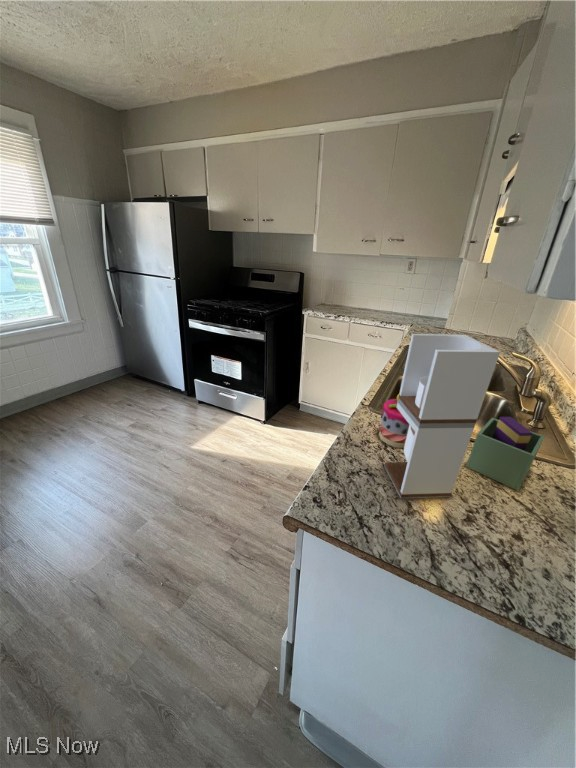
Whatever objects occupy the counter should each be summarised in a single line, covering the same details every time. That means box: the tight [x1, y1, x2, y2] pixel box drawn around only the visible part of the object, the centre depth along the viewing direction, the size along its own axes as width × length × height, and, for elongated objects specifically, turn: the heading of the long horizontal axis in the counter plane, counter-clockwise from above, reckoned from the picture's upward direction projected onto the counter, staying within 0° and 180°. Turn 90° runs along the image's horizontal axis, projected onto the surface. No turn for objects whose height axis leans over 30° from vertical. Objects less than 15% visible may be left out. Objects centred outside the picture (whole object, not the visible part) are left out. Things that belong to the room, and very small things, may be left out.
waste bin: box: [466, 417, 545, 492], centre depth 77 cm, size 11×11×11 cm
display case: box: [383, 333, 501, 500], centre depth 67 cm, size 11×11×35 cm
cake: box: [378, 393, 410, 449], centre depth 87 cm, size 10×11×15 cm
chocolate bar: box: [492, 416, 533, 451], centre depth 77 cm, size 3×7×13 cm, turn 3°
